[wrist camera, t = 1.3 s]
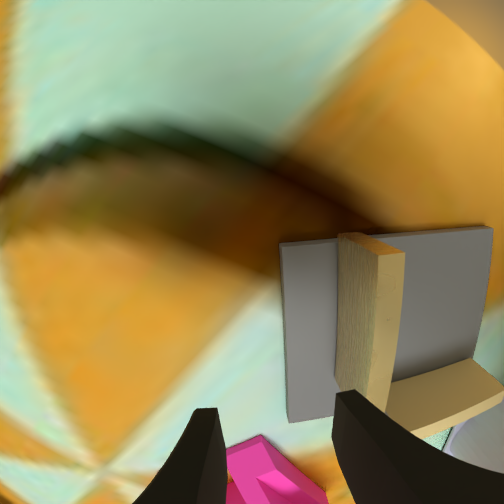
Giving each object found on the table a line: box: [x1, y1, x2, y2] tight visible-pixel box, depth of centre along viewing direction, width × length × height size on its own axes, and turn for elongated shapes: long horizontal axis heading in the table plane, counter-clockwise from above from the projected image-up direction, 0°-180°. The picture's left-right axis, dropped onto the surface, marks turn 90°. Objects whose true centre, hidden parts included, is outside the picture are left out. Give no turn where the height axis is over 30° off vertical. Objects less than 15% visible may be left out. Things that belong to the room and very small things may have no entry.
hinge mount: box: [279, 226, 504, 439], centre depth 15 cm, size 15×12×6 cm
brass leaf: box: [335, 232, 405, 413], centre depth 14 cm, size 9×1×5 cm, turn 4°
